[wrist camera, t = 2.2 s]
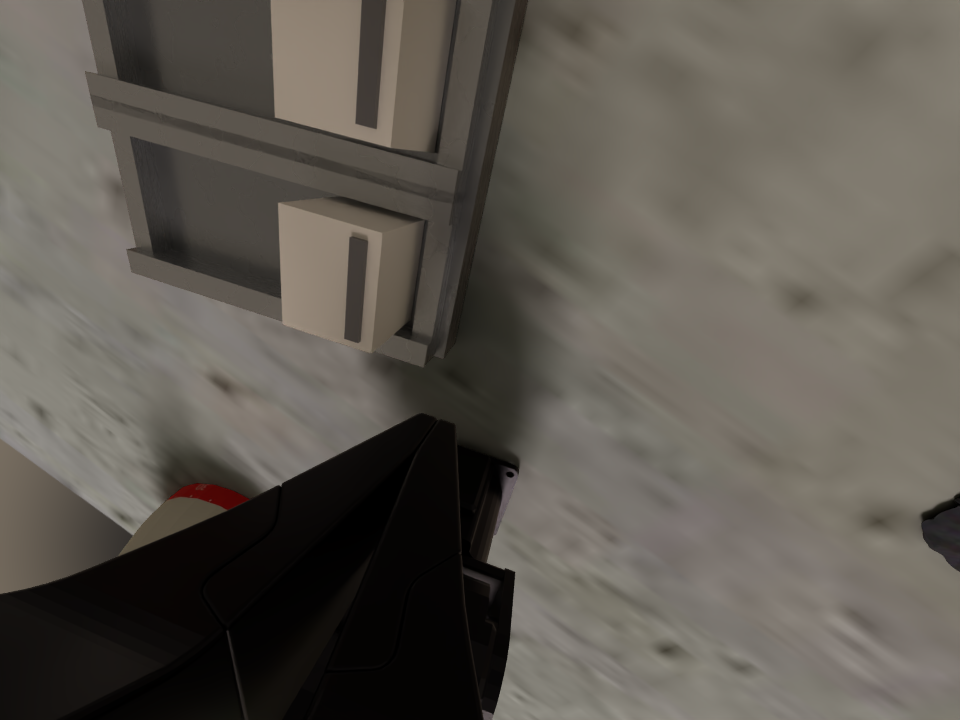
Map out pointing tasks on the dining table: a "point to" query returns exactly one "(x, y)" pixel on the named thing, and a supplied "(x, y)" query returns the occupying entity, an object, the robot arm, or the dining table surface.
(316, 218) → the block
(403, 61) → the block
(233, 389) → the dining table surface
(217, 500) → the kitchen timer
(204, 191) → the panel
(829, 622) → the dining table surface
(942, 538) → the dark slate chunk
